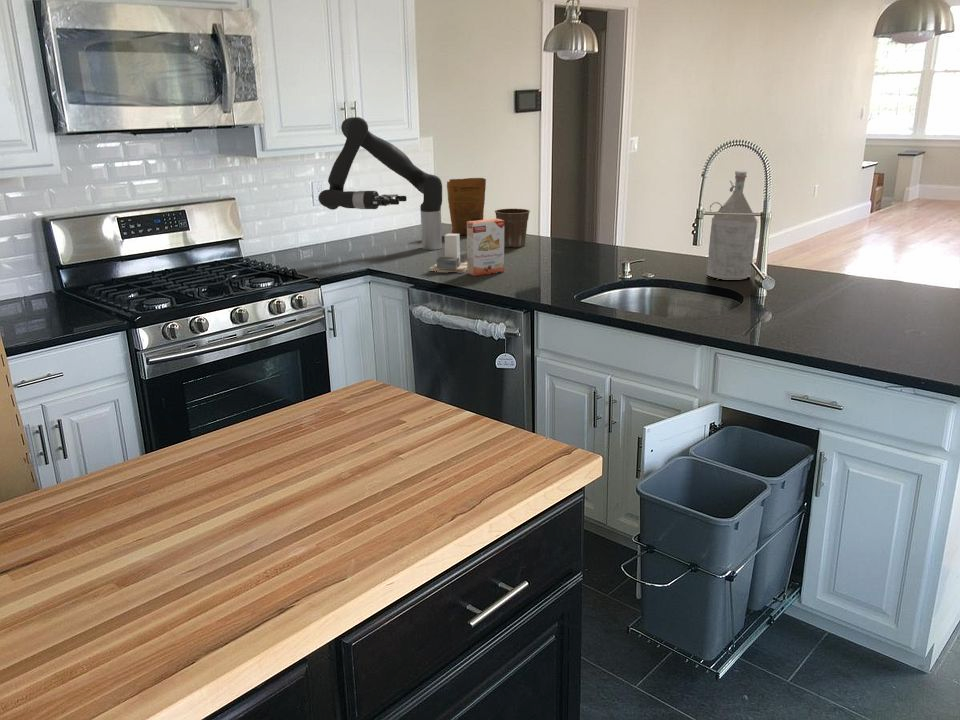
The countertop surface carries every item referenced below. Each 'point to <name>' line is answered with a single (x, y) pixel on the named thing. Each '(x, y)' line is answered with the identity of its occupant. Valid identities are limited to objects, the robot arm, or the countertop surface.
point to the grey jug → (732, 236)
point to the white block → (452, 245)
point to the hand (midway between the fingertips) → (402, 200)
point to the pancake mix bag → (465, 202)
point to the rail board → (459, 270)
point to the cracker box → (485, 246)
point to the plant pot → (514, 226)
